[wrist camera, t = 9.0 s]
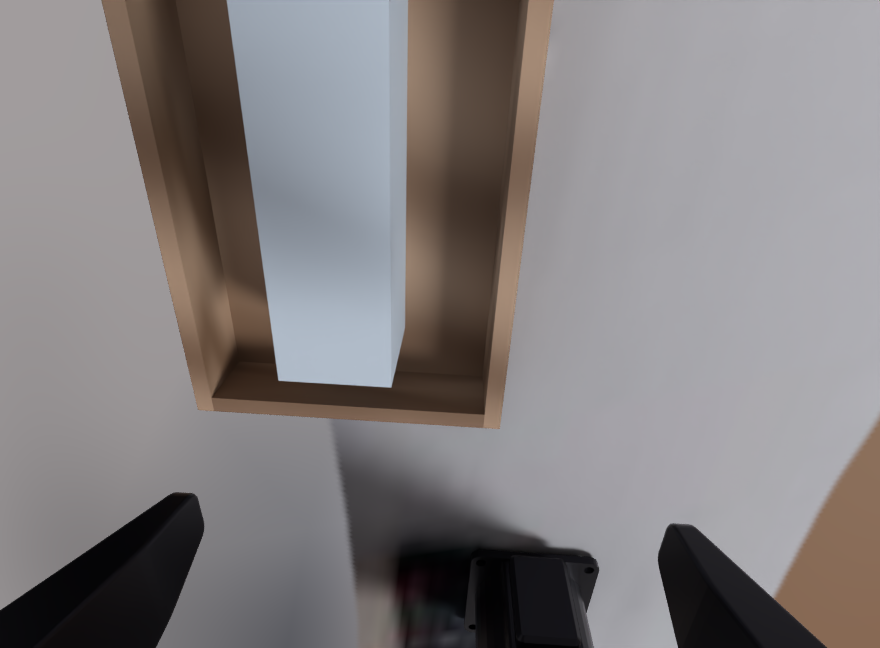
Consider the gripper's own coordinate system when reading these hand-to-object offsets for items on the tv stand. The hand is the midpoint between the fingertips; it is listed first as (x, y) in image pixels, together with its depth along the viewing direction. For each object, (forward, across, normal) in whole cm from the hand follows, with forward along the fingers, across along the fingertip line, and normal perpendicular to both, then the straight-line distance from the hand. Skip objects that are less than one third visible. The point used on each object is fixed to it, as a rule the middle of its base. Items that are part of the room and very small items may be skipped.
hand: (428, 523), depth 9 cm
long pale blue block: (+10, +3, -5) cm, 12 cm away
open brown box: (+10, +3, -5) cm, 12 cm away
